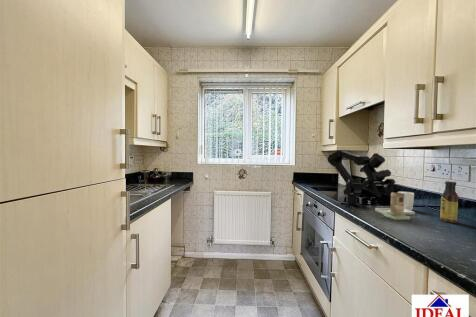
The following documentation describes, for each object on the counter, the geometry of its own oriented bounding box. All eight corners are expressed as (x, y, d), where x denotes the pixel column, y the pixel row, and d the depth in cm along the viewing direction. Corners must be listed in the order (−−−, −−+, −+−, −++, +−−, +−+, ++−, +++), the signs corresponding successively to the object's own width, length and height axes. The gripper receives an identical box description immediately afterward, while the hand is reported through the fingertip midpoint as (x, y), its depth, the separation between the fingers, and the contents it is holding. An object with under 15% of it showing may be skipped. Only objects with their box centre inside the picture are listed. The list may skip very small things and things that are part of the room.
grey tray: (390, 210, 135) (390, 208, 135) (403, 211, 136) (403, 208, 136) (400, 214, 127) (400, 211, 127) (415, 214, 128) (415, 212, 128)
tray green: (383, 215, 125) (383, 212, 125) (398, 215, 125) (398, 212, 125) (394, 219, 117) (394, 216, 117) (410, 220, 117) (410, 217, 117)
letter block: (389, 215, 122) (391, 192, 122) (395, 215, 123) (396, 192, 123) (397, 217, 118) (398, 193, 118) (403, 217, 119) (404, 193, 119)
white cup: (406, 211, 135) (407, 193, 135) (393, 208, 143) (394, 191, 143) (416, 210, 137) (417, 193, 137) (404, 207, 145) (404, 191, 145)
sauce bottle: (439, 218, 121) (441, 180, 120) (456, 221, 117) (458, 181, 116) (440, 221, 116) (442, 181, 115) (457, 224, 112) (459, 182, 111)
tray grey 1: (375, 210, 135) (375, 208, 135) (388, 210, 135) (388, 208, 135) (384, 214, 127) (384, 211, 127) (399, 214, 127) (399, 211, 127)
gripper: (366, 164, 128) (383, 188, 118) (393, 164, 133) (411, 187, 123) (355, 176, 136) (369, 200, 126) (380, 176, 141) (396, 199, 131)
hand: (387, 196), depth 126 cm, fingers open, 9 cm apart
